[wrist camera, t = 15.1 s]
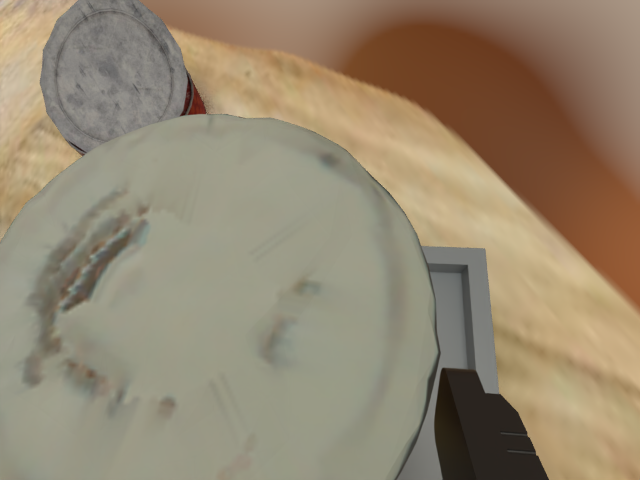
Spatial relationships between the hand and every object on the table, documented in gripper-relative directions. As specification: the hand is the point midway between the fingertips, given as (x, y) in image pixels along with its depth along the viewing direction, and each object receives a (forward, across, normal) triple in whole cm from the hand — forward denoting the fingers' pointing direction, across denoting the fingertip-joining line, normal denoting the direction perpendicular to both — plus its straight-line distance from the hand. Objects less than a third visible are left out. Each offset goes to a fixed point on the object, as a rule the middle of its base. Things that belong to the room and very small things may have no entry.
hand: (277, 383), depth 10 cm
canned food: (+23, +15, -3) cm, 28 cm away
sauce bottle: (+9, 0, +8) cm, 12 cm away
